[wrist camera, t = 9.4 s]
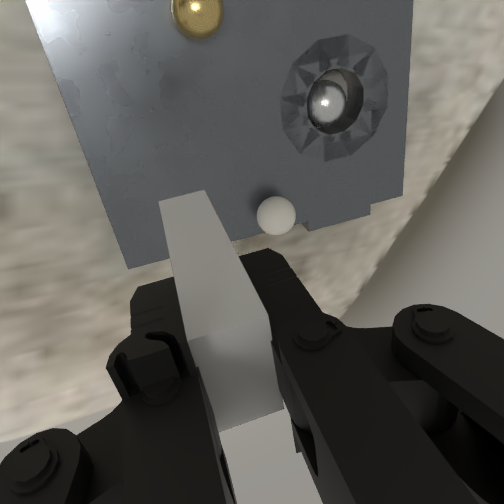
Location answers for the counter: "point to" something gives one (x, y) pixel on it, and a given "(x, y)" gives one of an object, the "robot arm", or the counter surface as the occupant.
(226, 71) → the grey flat block
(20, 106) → the counter surface
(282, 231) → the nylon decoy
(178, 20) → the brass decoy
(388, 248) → the counter surface
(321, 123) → the steel ball
